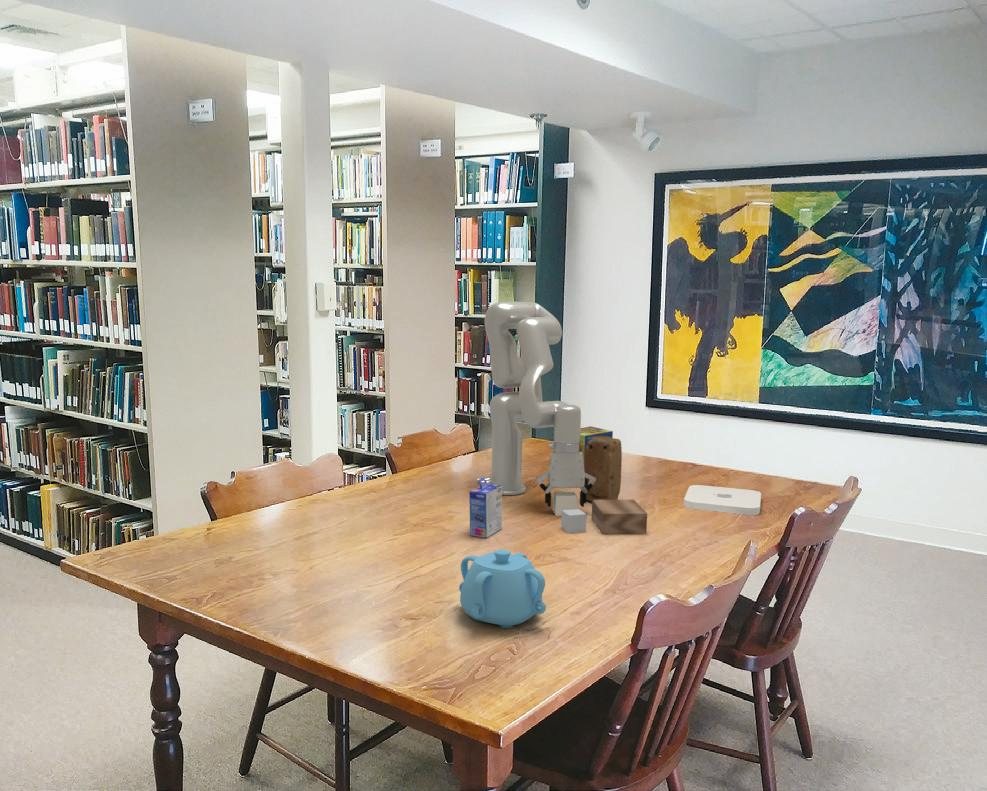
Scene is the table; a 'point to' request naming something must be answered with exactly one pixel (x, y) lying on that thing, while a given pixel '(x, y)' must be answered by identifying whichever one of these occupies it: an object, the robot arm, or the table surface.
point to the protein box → (591, 436)
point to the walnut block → (619, 517)
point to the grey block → (573, 521)
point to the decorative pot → (501, 588)
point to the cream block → (564, 501)
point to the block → (603, 468)
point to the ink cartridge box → (485, 509)
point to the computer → (723, 499)
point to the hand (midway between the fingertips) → (565, 505)
